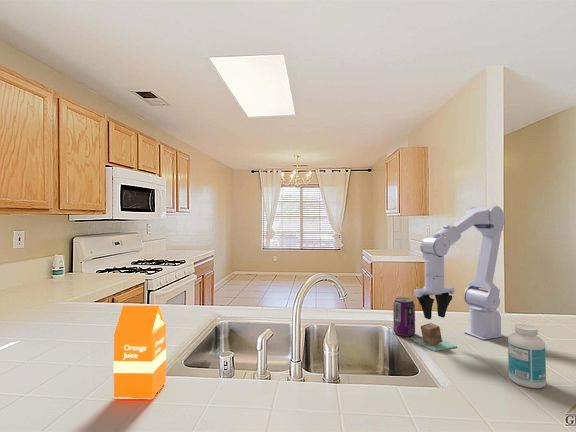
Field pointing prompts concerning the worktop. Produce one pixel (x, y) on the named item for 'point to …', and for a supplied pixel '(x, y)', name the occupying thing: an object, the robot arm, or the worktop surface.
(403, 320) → the beverage can
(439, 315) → the robot arm
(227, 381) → the worktop surface
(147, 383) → the orange juice
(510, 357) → the pill bottle
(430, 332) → the walnut block
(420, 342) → the teal coaster
